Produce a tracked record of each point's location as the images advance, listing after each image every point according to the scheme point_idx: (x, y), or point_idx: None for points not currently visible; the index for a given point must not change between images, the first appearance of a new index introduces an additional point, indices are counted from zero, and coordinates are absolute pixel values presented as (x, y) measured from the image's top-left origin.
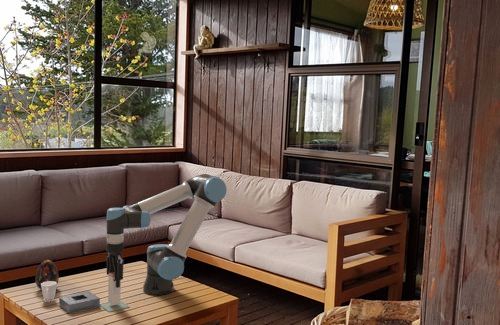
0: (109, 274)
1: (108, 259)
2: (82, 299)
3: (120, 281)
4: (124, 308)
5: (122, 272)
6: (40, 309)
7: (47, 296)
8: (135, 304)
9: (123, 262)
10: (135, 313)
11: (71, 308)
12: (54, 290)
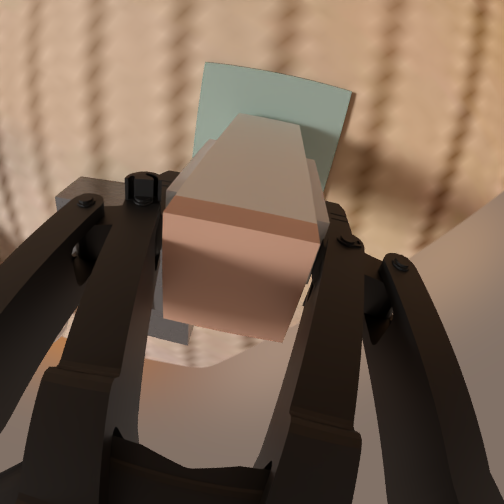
0: (193, 316)
1: (1, 415)
2: (156, 287)
3: (311, 189)
4: (342, 124)
5: (440, 342)
6: None
7: (64, 330)
8: (338, 33)
9: (498, 496)
10: (440, 141)
11: (192, 326)
12: None
